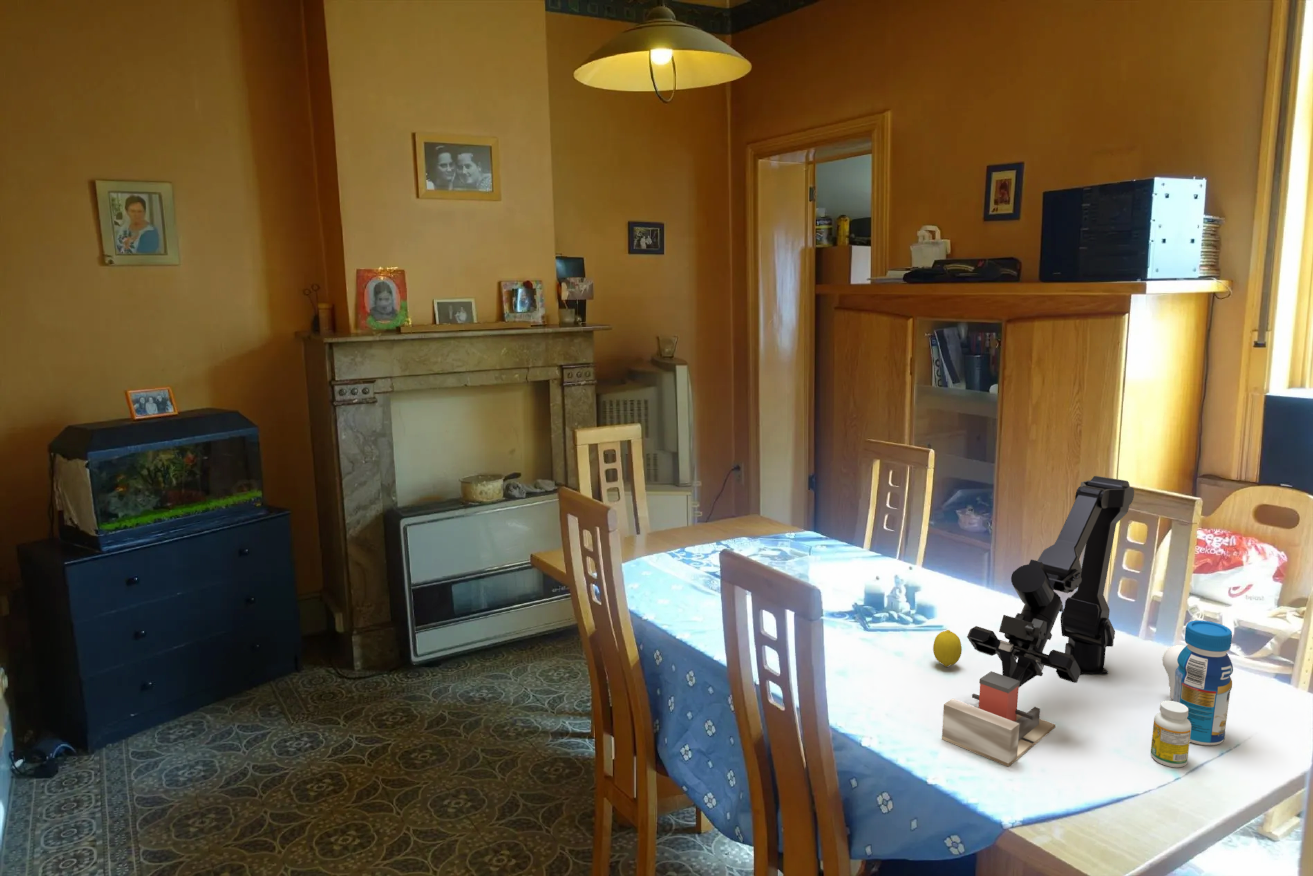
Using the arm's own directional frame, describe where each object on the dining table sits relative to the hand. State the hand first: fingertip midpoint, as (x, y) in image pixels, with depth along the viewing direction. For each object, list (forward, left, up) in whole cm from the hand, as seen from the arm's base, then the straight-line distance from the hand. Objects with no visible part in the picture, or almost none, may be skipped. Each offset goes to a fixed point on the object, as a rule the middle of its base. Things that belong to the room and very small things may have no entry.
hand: (1004, 695), depth 154 cm
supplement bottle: (-24, +9, -7) cm, 27 cm away
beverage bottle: (-33, +1, -7) cm, 34 cm away
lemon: (+3, -25, -7) cm, 27 cm away
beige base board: (+1, +1, -7) cm, 7 cm away
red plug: (+2, +2, -7) cm, 7 cm away
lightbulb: (-36, -11, -7) cm, 39 cm away
